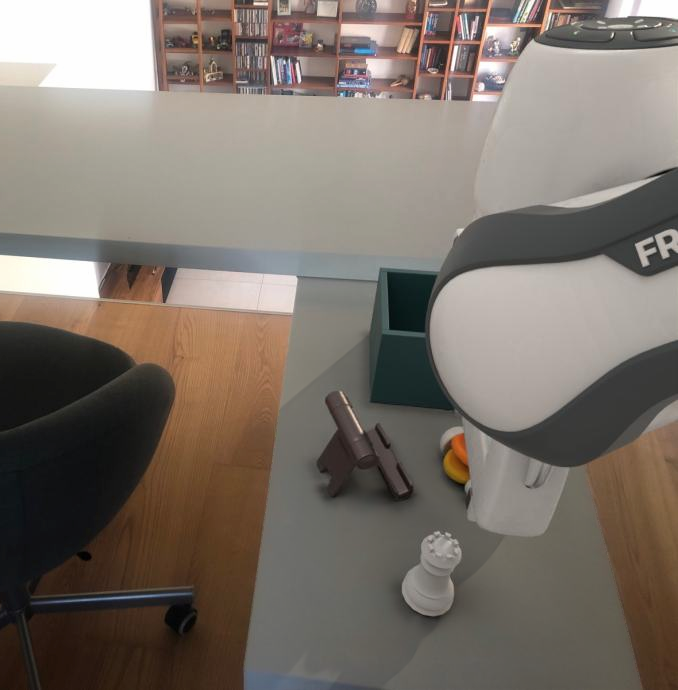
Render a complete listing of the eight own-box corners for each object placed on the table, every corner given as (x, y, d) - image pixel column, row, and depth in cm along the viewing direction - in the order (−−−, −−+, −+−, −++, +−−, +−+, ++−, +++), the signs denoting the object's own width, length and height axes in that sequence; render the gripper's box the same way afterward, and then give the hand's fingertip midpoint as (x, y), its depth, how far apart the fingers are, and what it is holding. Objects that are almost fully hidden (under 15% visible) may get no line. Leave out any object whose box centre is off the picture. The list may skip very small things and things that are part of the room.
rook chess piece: (396, 573, 64) (410, 521, 58) (444, 572, 64) (463, 520, 58) (406, 619, 60) (422, 569, 55) (458, 618, 60) (478, 568, 55)
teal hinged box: (370, 402, 80) (381, 333, 73) (369, 333, 90) (379, 267, 83) (510, 415, 78) (535, 346, 71) (494, 343, 88) (515, 276, 81)
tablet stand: (412, 499, 70) (427, 444, 64) (338, 515, 68) (347, 460, 63) (377, 436, 76) (388, 381, 71) (309, 449, 75) (315, 394, 70)
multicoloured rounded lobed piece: (423, 450, 74) (436, 403, 70) (505, 433, 76) (522, 385, 71) (463, 514, 68) (479, 467, 63) (550, 494, 70) (573, 446, 65)
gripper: (629, 449, 33) (543, 598, 42) (546, 223, 48) (496, 368, 57) (491, 434, 34) (436, 584, 43) (452, 217, 49) (418, 361, 58)
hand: (470, 459), depth 50 cm, fingers open, 8 cm apart
